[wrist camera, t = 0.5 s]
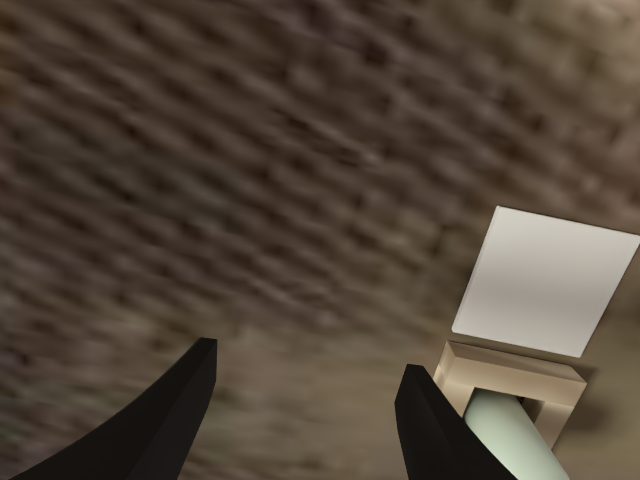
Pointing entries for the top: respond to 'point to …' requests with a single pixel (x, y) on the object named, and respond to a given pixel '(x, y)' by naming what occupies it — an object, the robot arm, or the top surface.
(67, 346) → the top surface
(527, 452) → the sage peg
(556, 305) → the pad
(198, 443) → the top surface
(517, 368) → the pocket holder
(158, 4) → the top surface
